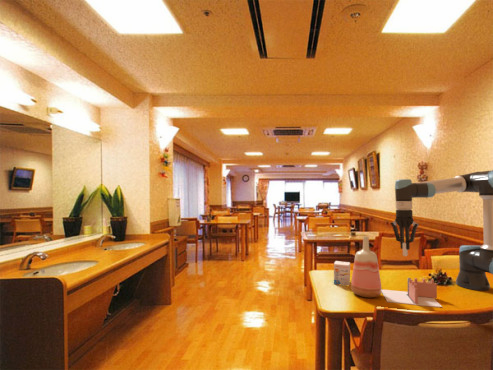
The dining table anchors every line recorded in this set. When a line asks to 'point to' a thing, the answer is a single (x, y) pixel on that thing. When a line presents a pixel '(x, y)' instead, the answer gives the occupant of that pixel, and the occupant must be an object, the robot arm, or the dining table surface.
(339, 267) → the ink box
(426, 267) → the dining table surface
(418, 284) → the fixed fence panel
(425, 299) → the card
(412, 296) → the folding fence panel
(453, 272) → the dining table surface
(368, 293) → the vase
